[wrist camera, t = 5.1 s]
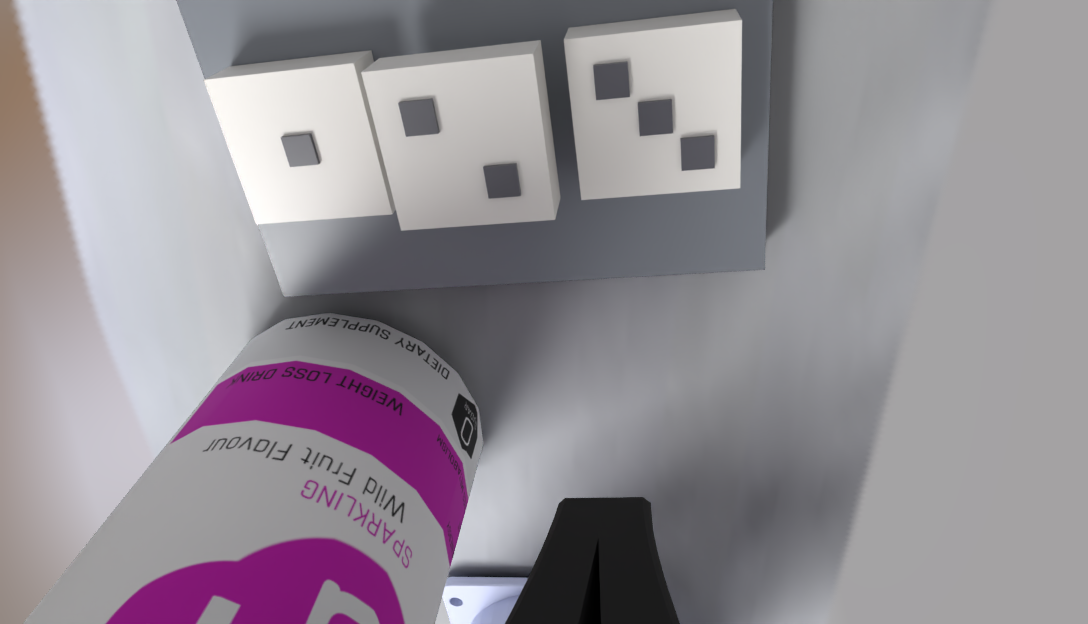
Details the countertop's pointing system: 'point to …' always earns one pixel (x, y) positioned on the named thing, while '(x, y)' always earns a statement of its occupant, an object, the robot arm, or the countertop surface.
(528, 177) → the tile two
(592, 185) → the tile three
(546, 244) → the keypad
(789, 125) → the countertop surface
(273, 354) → the supplement can
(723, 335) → the countertop surface
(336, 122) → the tile one
